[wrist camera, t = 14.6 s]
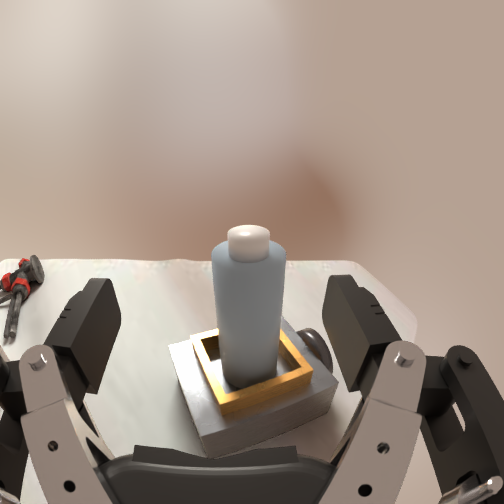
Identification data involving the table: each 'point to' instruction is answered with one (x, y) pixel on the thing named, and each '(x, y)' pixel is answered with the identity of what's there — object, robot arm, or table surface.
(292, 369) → the gold-trimmed base block
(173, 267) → the table surface
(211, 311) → the table surface
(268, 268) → the light blue bottle
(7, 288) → the valve
